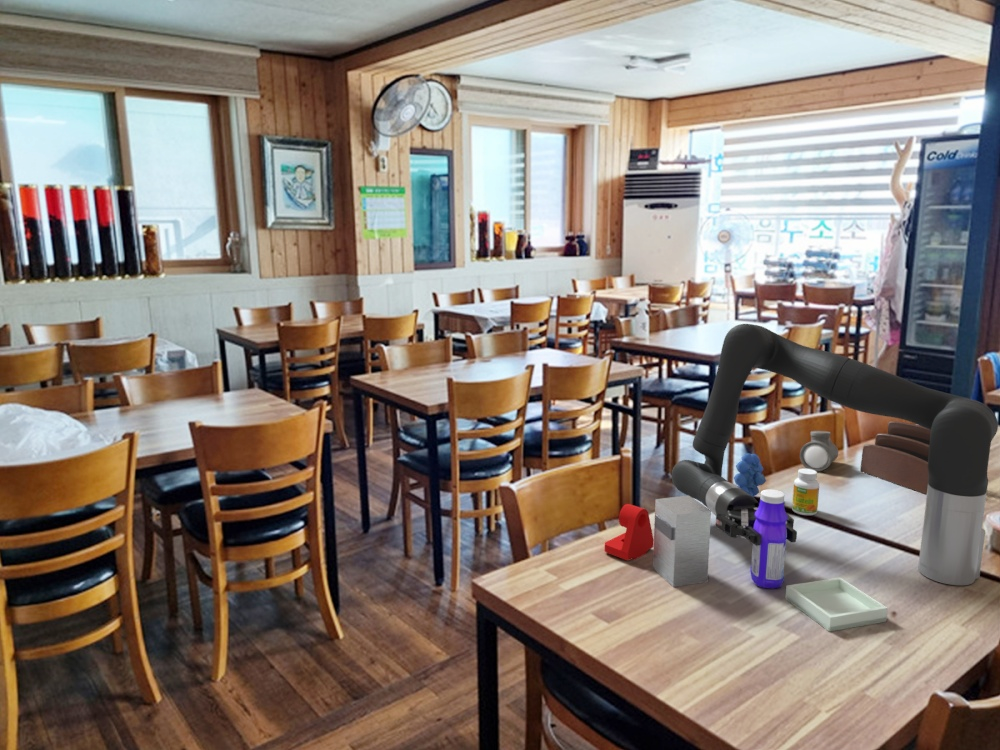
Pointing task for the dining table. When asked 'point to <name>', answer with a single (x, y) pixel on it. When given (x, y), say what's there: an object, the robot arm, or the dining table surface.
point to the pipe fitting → (818, 451)
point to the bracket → (632, 534)
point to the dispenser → (681, 540)
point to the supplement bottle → (805, 492)
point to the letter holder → (899, 456)
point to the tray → (836, 604)
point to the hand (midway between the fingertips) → (776, 538)
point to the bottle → (769, 540)
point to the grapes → (749, 474)
